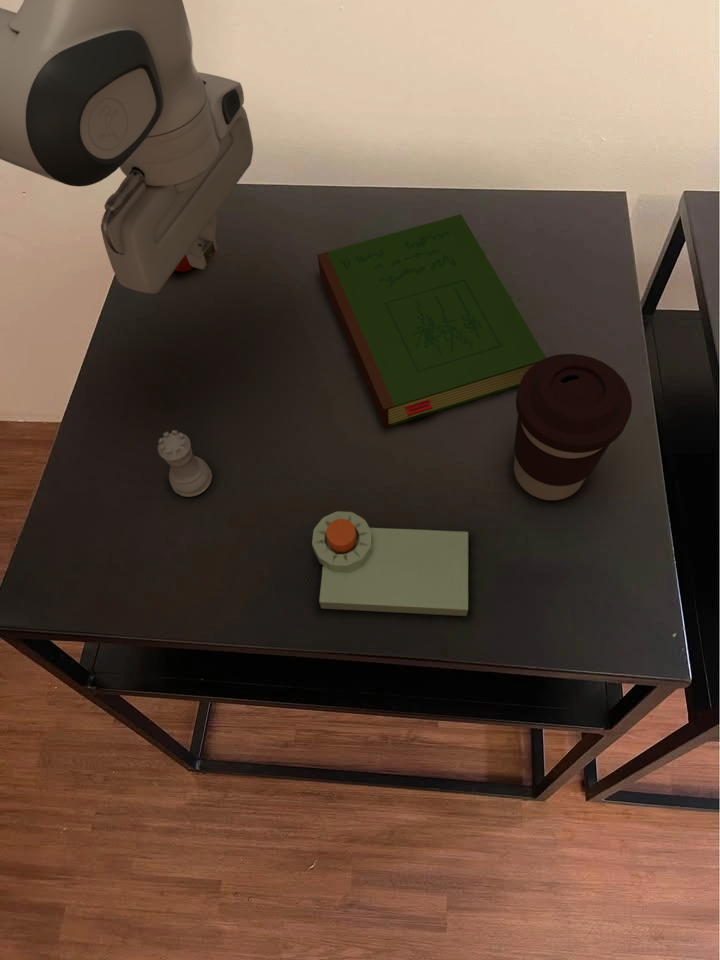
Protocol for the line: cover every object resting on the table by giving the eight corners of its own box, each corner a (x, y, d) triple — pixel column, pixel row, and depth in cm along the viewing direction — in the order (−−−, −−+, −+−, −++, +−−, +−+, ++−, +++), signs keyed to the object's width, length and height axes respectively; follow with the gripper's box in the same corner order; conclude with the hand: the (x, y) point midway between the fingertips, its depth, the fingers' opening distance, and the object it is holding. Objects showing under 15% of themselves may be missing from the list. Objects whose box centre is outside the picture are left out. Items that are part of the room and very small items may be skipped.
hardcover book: (320, 277, 90) (317, 254, 87) (459, 237, 92) (460, 214, 89) (386, 434, 79) (386, 414, 75) (543, 384, 81) (549, 363, 77)
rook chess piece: (219, 468, 78) (201, 428, 71) (202, 503, 76) (181, 465, 69) (182, 458, 78) (161, 417, 71) (164, 492, 77) (140, 454, 70)
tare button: (326, 552, 69) (324, 544, 67) (329, 525, 70) (327, 518, 69) (355, 553, 69) (354, 546, 67) (357, 527, 70) (356, 519, 68)
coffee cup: (590, 523, 72) (631, 445, 59) (492, 502, 74) (511, 421, 61) (601, 442, 77) (642, 352, 64) (509, 423, 78) (530, 333, 65)
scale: (310, 608, 69) (305, 595, 66) (319, 525, 74) (315, 510, 71) (466, 616, 68) (469, 604, 65) (466, 531, 72) (469, 516, 69)
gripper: (130, 226, 55) (180, 342, 67) (250, 72, 64) (276, 200, 76) (63, 207, 57) (123, 324, 69) (189, 60, 65) (224, 187, 77)
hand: (204, 258), depth 72 cm, fingers closed
